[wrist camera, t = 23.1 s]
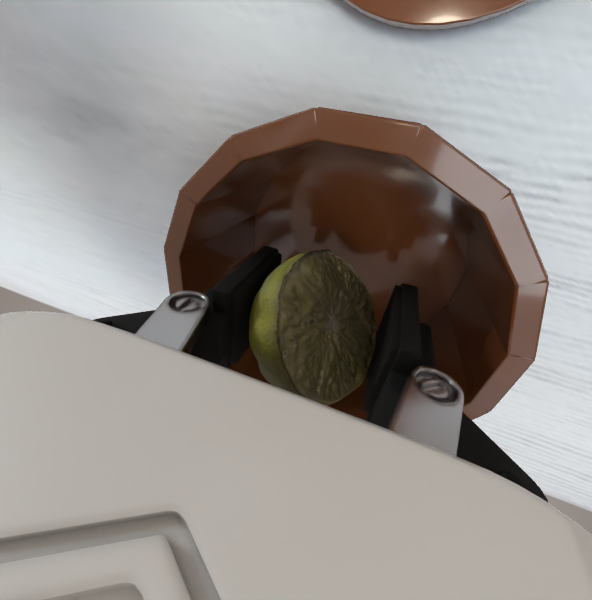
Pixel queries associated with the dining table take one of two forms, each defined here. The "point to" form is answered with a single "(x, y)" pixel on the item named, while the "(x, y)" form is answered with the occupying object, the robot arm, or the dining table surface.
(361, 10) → the lid
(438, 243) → the pot
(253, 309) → the lime
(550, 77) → the dining table surface
